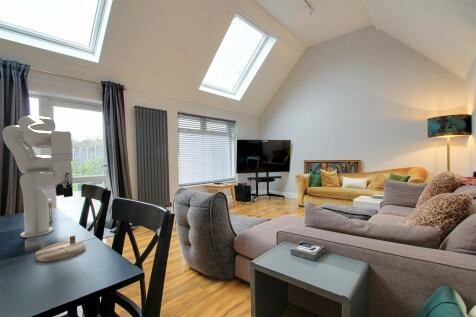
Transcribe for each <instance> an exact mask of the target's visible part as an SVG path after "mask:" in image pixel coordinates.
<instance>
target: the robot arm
mask: <svg viewBox="0 0 476 317" xmlns="http://www.w3.org/2000/svg"><path fill="white" fill-rule="evenodd" d="M17 123H18V125H8V126H5V127H4V128H3V130H2V138H3V142H4V144H5V145H6V147H7V149H8V150H9V151H10V152H11V153H12V154H13V158H14V160H15V163H16V165H17V167H18V170H19V172H21V173H22V174H23V175H21V176H20V178H19V185H20V187H21V191H22V201H23V202H22V203H23V221H24V222H23V223H24V231H23V232H21V233H20V237H21V238H32V237H38V236H39V237H40V236H43V235H46V234H50V233H51V232H53V231H54V228H53V227H52V226H50V223H49V207H48V199H49V198H48V195H47V194H46V193H44V192H43V191H44V190H52V189H55V196H57V197H60V196H63V197H64V198H70V197H73V196H74V193H73V192H74V191H73V188H74V186H73V166H72V162H73V157H74V156H73V144H72V143H73V142H72V141H73V140H72V134H71V132H70V131H68V130H64V129H63V130H60V129H59V130H56V123H55V121H54V119H52V118H50V117H44V116H35V115H24V116H22V117H20V118H19V119H18V121H17ZM34 148H35V149H50V155H39V154H36V151H35V149H34Z"/></svg>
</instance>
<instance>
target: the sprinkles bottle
mask: <svg viewBox="0 0 476 317" xmlns="http://www.w3.org/2000/svg"><path fill="white" fill-rule="evenodd" d="M52 203H53V200H52V199H51V198H48V207H49V217H50V222H53V207H52V206H53V205H52Z"/></svg>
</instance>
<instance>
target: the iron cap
mask: <svg viewBox="0 0 476 317" xmlns="http://www.w3.org/2000/svg"><path fill="white" fill-rule="evenodd" d="M41 244H42V243H41V237H40V236H39V237H38V236H35V237H28V238H27V239H25V240H24V252H25V253H27V252H28V253H33V252H37V251H39V250H40V249H42V247H41V246H42V245H41Z"/></svg>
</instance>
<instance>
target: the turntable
mask: <svg viewBox="0 0 476 317" xmlns="http://www.w3.org/2000/svg"><path fill="white" fill-rule="evenodd" d="M85 248H86V243H85V242H84V241H83V240H76V236H75V235H70V236H69V240H68V241H62V242H56V243H54V244H51V245H48V246H45V247H41V249H40V250H37V251H35V254H34V255H35V256H34V257H35V260H36V261H38V262H54V261H59V260H63V259H67V258H70V257H73V256H76V255H78V254H80V253H81V252H83V251H84V250H85Z"/></svg>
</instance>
